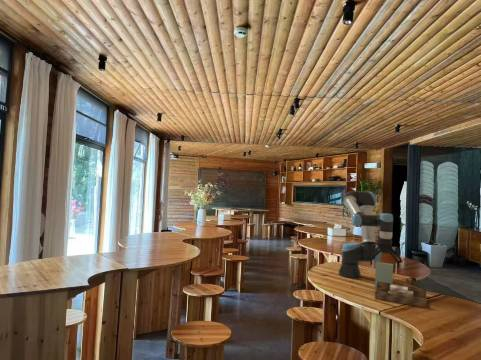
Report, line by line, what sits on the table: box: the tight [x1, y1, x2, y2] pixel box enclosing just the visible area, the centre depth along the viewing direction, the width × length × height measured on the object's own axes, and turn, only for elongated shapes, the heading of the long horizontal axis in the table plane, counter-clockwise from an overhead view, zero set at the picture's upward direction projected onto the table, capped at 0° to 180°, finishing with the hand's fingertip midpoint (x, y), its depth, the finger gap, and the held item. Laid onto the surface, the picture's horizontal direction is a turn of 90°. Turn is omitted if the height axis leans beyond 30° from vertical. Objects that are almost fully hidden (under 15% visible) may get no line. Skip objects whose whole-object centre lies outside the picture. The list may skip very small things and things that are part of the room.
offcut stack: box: [388, 284, 413, 297], centre depth 194 cm, size 13×6×6 cm, turn 64°
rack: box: [374, 281, 428, 309], centre depth 196 cm, size 26×15×6 cm, turn 64°
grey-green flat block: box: [374, 261, 394, 289], centre depth 216 cm, size 10×2×16 cm, turn 64°
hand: (384, 271), depth 216 cm, fingers open, 13 cm apart
